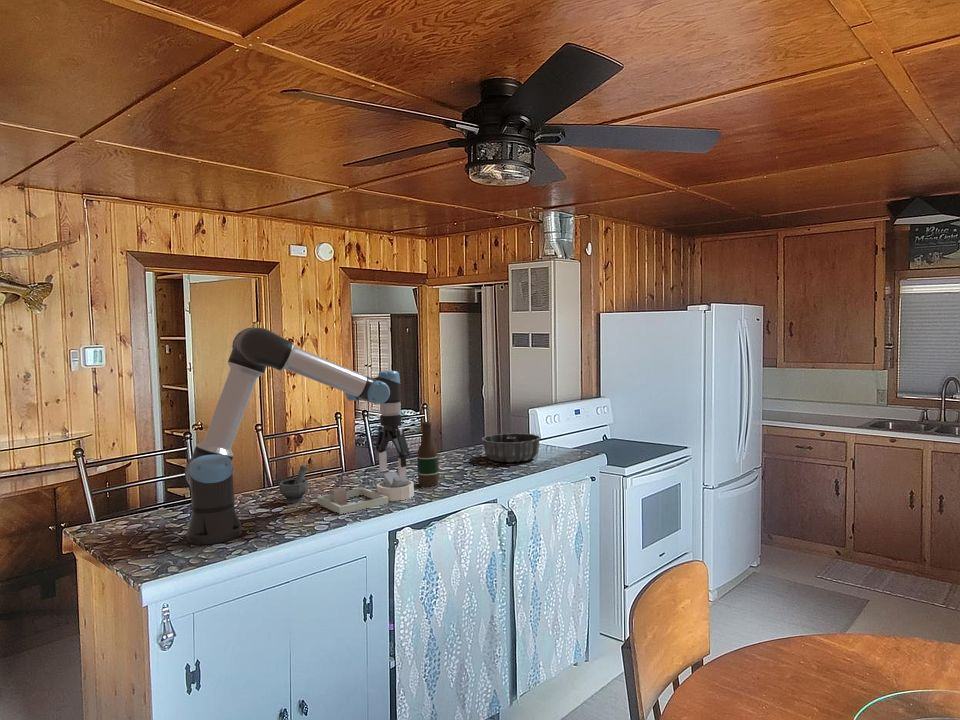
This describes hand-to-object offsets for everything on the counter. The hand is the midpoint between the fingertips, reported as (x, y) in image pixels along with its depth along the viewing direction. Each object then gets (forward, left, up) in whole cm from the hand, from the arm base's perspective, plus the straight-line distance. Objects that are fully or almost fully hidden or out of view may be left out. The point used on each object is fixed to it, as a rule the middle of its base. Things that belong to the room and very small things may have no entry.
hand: (392, 472), depth 234 cm
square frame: (-16, +1, -8) cm, 18 cm away
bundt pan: (+71, +18, -9) cm, 74 cm away
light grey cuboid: (0, -2, -5) cm, 5 cm away
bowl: (0, -1, -8) cm, 8 cm away
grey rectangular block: (0, -3, -7) cm, 7 cm away
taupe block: (-21, +1, -8) cm, 23 cm away
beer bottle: (+18, +5, -8) cm, 20 cm away
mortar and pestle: (-29, +19, -8) cm, 35 cm away
